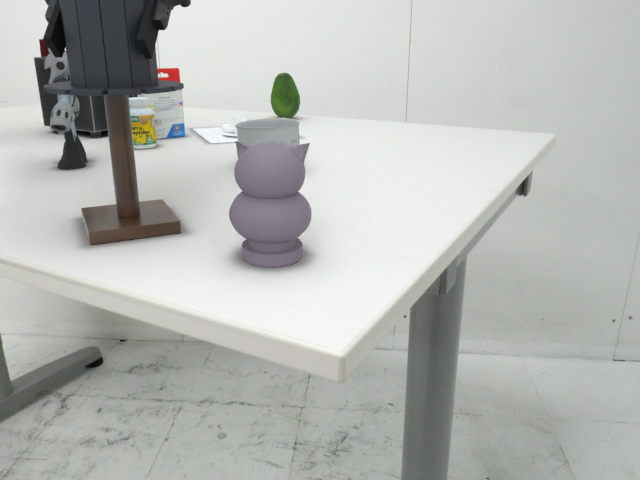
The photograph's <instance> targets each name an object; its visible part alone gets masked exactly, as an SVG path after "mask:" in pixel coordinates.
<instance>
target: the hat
mask: <svg viewBox="0 0 640 480" xmlns="http://www.w3.org/2000/svg"><path fill="white" fill-rule="evenodd" d="M146 1H147V0H59V2H60V10H61V17H62V24H63V31H64V39H65V46H66V47H65V51H66V53H67V61H68V68H69V75H70V81H65V82H57V83H51V84H45V85H44V90H45V92H47V93H53V94H62V95H70V94H71V95H86V96H103V95H109V96H115V95H141V94H154V93H164V92H171V91H177V90H180V89H182V90H183V89H184V88H185V84H184V83H183V82H181V81H180V82H181V83H180V82H177V81H169V80H158V77H159V74H158V71H157V68H158V62H157V61H158V59H157V51H156V50H157V48H156V47H155V49H154V53H153V57H152V59H145V57H144V55H143V53H142V51H141V48H140V46H139V44H138V42H137V40H136V39H137V36H138V32H139V28H140V24H141V20H142V16H143V12H144V8H145V5H146Z"/></svg>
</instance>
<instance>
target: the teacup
mask: <svg viewBox="0 0 640 480" xmlns="http://www.w3.org/2000/svg"><path fill="white" fill-rule="evenodd" d="M299 125H300V120H298V119H295V118H280V117H271V118H270V117H269V118H268V117H267V118H256V119H250V120H249V119H248V120H247V121H243V122H239V123H237V124H236V128H237V137H238V142H242V143H245V144H248V145H252V146H254V145H257V144H261V143H278V144H281V145H285V146H287V147H291V146H296V145H301V144H300V143H301V142H300V126H299Z"/></svg>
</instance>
